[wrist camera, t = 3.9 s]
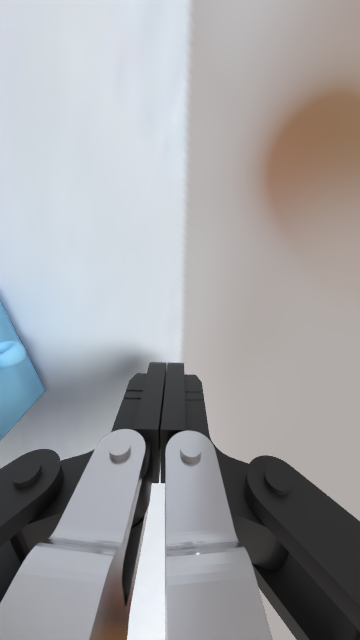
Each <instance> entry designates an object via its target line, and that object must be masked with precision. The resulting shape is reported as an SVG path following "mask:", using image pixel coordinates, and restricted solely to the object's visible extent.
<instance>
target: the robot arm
mask: <svg viewBox="0 0 360 640" xmlns="http://www.w3.org/2000/svg"><path fill="white" fill-rule="evenodd" d="M160 463H161V483H165V640H273V639H272V635H271V632H270V628H269V624H268V621H267V617H266V613H265V610H264V606H263V602H262V599H261V595H260V592H259V588H260V590H261V591H262V593H263V594H264V595H265V597H266V598H267V599H268V601H269V602H270V604H271V605H272V606H273V608H274V609H275V610H276V612H277V613H278V615H279V616H280V617H281V619H282V620H283V621H284V623H285V624H286V625H287V627H288V628H289V630H290V631H291V632H292V634H293V635H294V637H295V638H296V639H297V640H360V521H358V520H357V519H356V518H355V517H354V516H352V515H351V514H350V513H348V512H347V511H346V510H345V509H344V508H342V507H341V506H340V505H339V504H337V503H336V502H335V501H334V500H332V499H331V498H330V497H329V496H327V495H326V494H325V493H324V492H322V491H321V490H320V489H319V488H318V487H316V486H315V485H314V484H312V483H311V482H310V481H309V480H307V479H306V478H305V477H304V476H303V475H301V474H300V473H299V472H298V471H296V470H295V469H294V468H293V467H291V466H290V465H289V464H287V463H286V462H284V461H283V460H281V459H278V458H276V457H272V456H259V457H256V458H255V459H253V460H252V461H251V462H250V464H248V463H245V462H242V461H239V460H236V459H234V458H231V457H228V456H227V455H225V454H223V453H222V452H221V451H219V450H218V449H217V448H216V446H215V445H214V444H213V442H212V441H211V438H210V436H209V430H208V423H207V416H206V410H205V403H204V396H203V389H202V382H201V381H200V380H199V379H198V377H197V376H196V375H184V363H168V364H167V363H162V362H150V364H149V368H148V372H147V374H142V373H137V374H136V375H135V376H134V377H133V378H132V379H131V380H130V381H129V384H128V387H127V389H126V392H125V395H124V399H123V401H122V403H121V406H120V409H119V412H118V414H117V417H116V420H115V423H114V425H113V428H112V431H111V433H109V434H108V435H106V436H105V437H104V438H103V439H102V440H101V441H100V442H99V443H98V445H97V446H96V448H95V449H94V450H93V451H91V452H88V453H86V454H83V455H80V456H76V457H72V458H69V459H65V460H61V461H60V458H59V456H58V454H57V453H56V452H54V451H52V450H49V449H39V450H34V451H31V452H29V453H26V454H24V455H22V456H21V457H19V458H17V459H16V460H14V461H12V462H11V463H9V464H8V465H6V466H4V467H3V468H1V469H0V640H127V634H128V622H129V614H130V607H131V601H132V595H133V590H134V584H135V579H136V573H137V568H138V562H139V557H140V552H141V546H142V541H143V535H144V530H145V524H146V519H147V513H148V506H149V501H150V492H151V484H152V483H159V474H160Z"/></svg>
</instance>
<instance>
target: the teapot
mask: <svg viewBox="0 0 360 640" xmlns="http://www.w3.org/2000/svg"><path fill="white" fill-rule="evenodd" d="M44 391H45V388H44V386H43V384H42V382H41V380H40V378H39V376H38V374H37V372H36V370H35V368H34V366H33V364H32V362H31V360H30V358H29V356H28V354H27V352H26V350H25V347H24V346H23V344H22V342H21V340H20V338H19V336H18V334H17V332H16V330H15V328H14V326H13V324H12V322H11V320H10V318H9V316H8V314H7V312H6V310H5V308H4V306H3V304H2V302H1V300H0V441H1V439H2V438H3V437H4V436H5V435H6V434H7V433H8V432H9V430H10V429H11V428H12V427H13V426H14V425H15V424H16V423H17V421H18V420H19V419H20V418H21V417H22V416H23V415H24V414H25V413H26V411H27V410H28V409H29V408H30V407H31V406H32V405H33V404H34V402H35V401H36V400H37V399H38V398H39V397H40V396H41V395H42V394H43V392H44Z"/></svg>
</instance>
